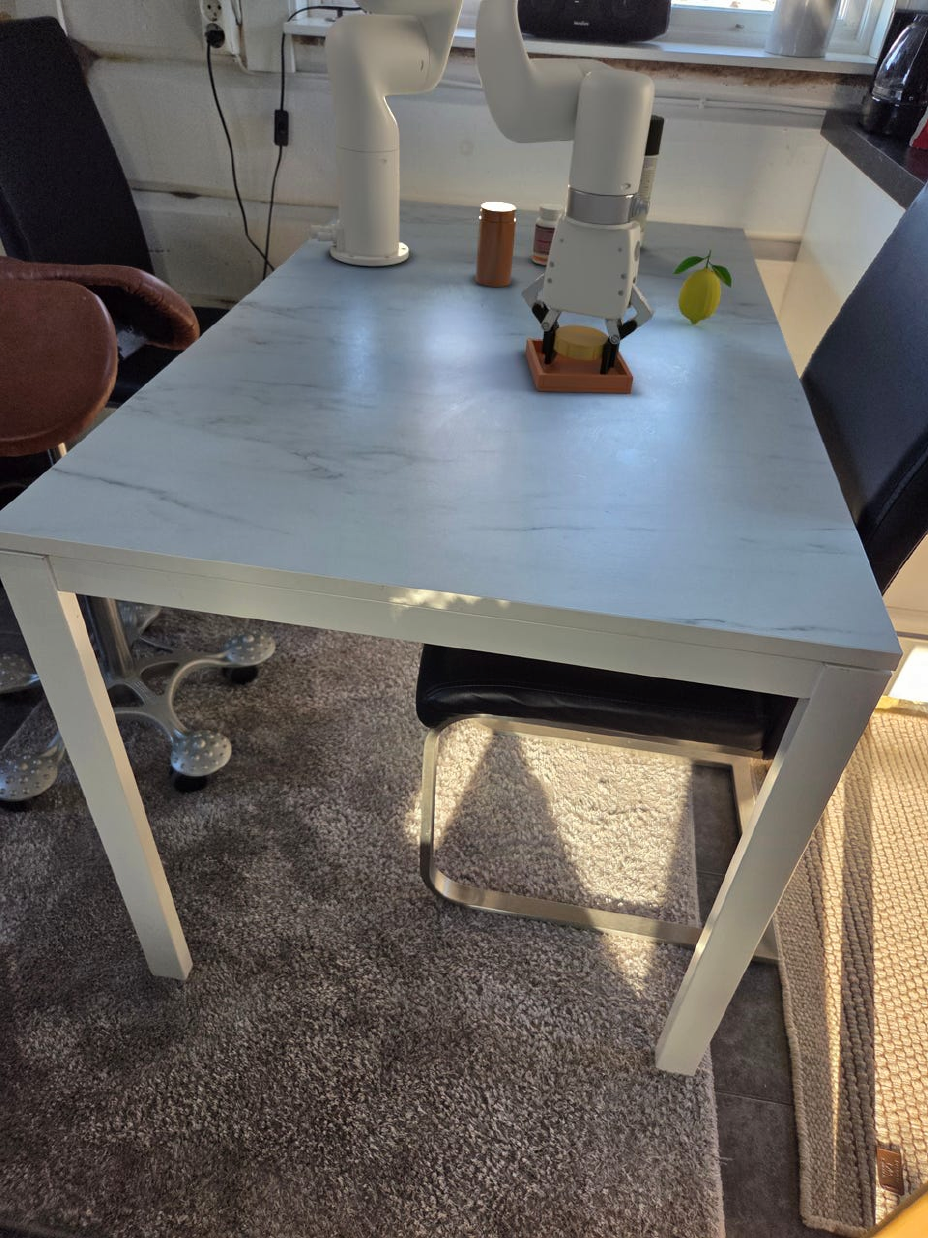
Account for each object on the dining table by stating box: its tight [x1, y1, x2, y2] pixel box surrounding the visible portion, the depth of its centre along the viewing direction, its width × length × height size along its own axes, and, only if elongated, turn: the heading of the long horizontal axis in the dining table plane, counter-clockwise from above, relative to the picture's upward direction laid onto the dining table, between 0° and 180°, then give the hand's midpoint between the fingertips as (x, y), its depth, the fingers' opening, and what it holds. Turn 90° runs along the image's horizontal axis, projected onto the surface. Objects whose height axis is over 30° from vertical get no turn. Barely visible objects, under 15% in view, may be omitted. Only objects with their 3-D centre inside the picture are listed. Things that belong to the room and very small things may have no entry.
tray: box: [524, 338, 634, 394], centre depth 101 cm, size 11×11×2 cm
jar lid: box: [553, 324, 609, 360], centre depth 99 cm, size 6×6×2 cm
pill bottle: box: [531, 203, 566, 266], centre depth 134 cm, size 5×5×8 cm
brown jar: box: [475, 201, 517, 288], centre depth 124 cm, size 5×5×11 cm
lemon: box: [672, 249, 732, 325], centre depth 114 cm, size 7×6×10 cm
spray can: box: [634, 114, 665, 248], centre depth 139 cm, size 7×7×20 cm
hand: (577, 364), depth 101 cm, fingers closed on jar lid, 6 cm apart
